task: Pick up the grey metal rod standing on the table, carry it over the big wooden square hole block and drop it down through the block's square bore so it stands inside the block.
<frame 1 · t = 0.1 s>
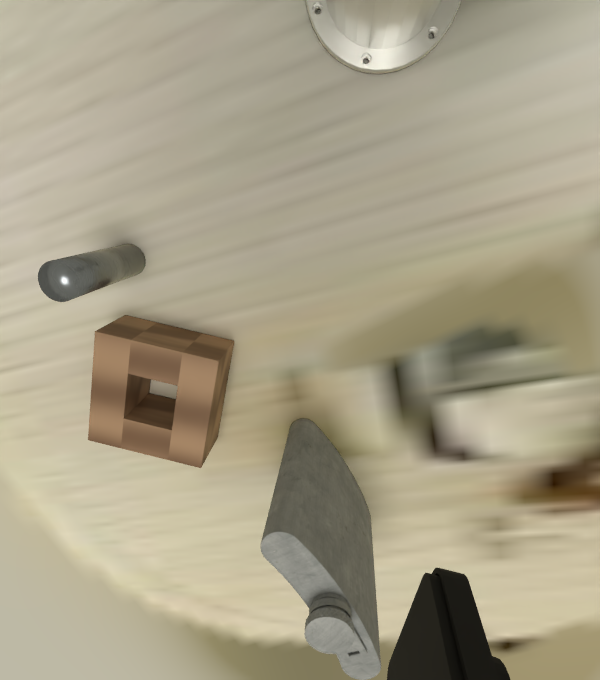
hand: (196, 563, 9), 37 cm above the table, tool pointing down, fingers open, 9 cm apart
wooden square hole block: (173, 378, 49), on the table
grey metal rod: (130, 259, 46), on the table
hip flask: (334, 472, 51), on the table
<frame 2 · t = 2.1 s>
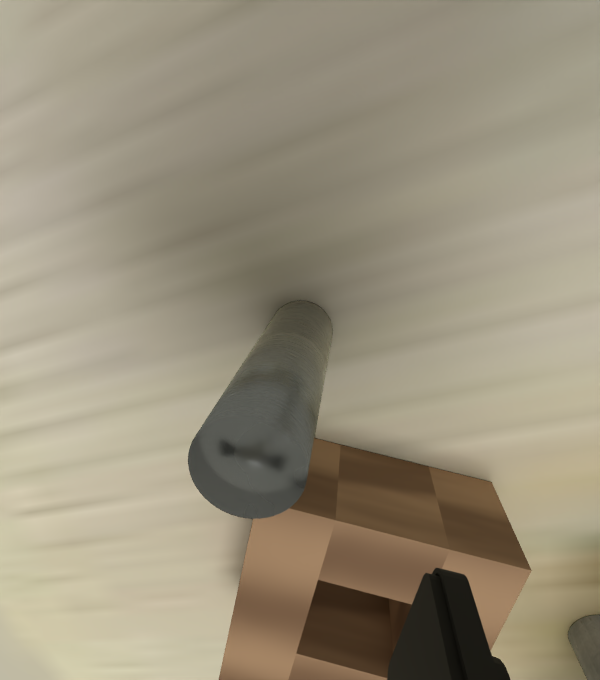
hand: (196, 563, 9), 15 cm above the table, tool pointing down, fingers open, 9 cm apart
wooden square hole block: (357, 538, 27), on the table
grey metal rod: (301, 330, 23), on the table
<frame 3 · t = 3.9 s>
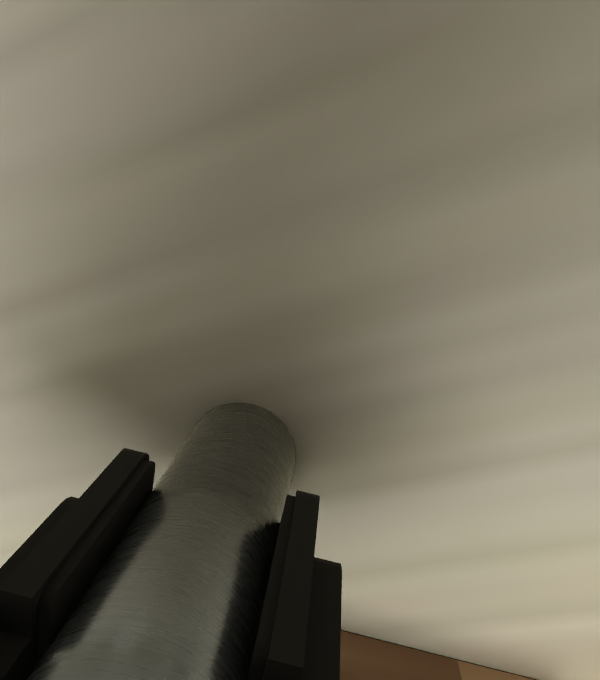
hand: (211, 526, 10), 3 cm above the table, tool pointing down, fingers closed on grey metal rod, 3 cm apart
grey metal rod: (242, 451, 13), on the table, touching gripper
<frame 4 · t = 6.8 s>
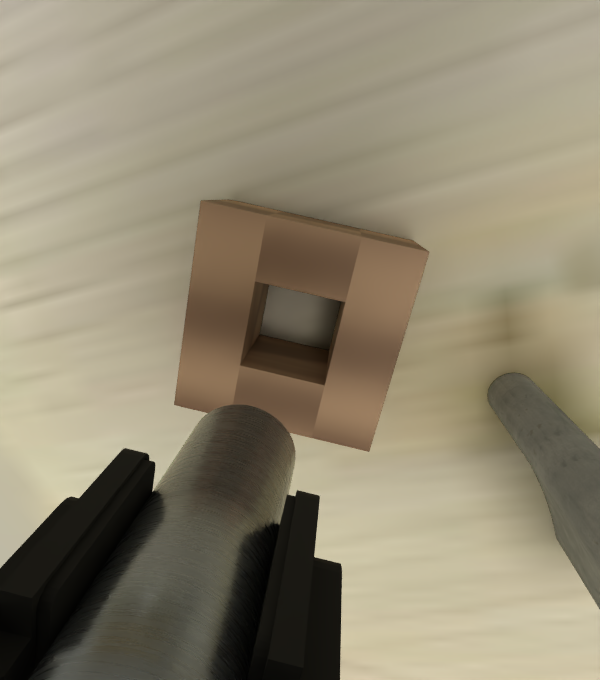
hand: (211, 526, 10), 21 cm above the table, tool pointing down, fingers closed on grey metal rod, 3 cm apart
wooden square hole block: (301, 308, 30), on the table
grey metal rod: (242, 452, 13), point 18 cm above the table, touching gripper
hip flask: (551, 461, 32), on the table
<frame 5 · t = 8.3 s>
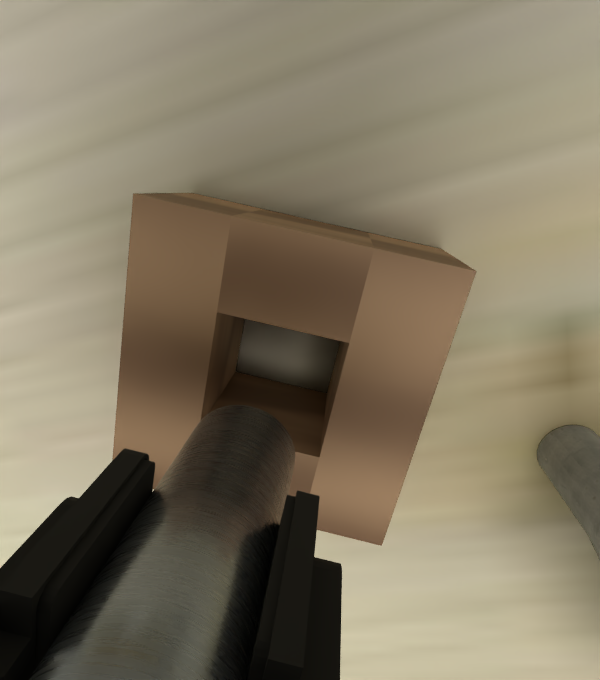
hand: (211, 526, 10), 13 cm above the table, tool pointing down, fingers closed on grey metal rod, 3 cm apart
wooden square hole block: (290, 339, 23), on the table
grey metal rod: (242, 453, 13), point 10 cm above the table, touching gripper
when the fingers open (8 cm above the table, at t = 9.6 s): grey metal rod drops 4 cm, resting in wooden square hole block.
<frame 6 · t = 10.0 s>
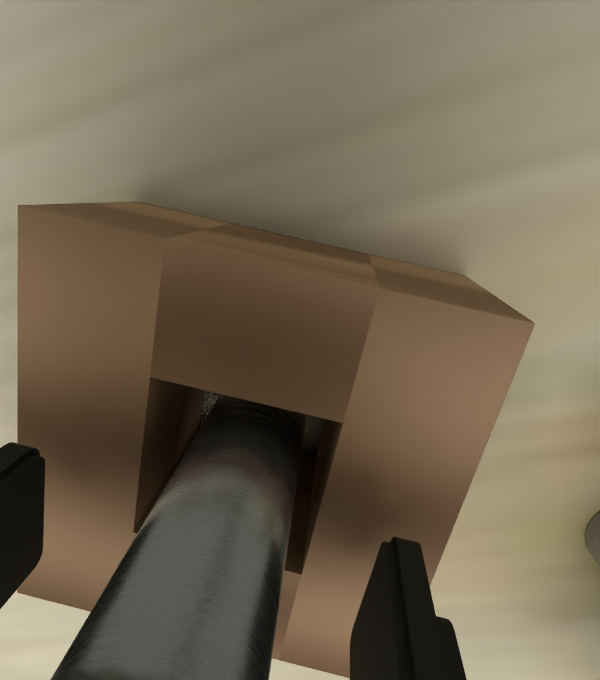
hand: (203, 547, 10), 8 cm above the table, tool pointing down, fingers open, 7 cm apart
wooden square hole block: (268, 389, 18), on the table
grey metal rod: (269, 390, 18), resting in wooden square hole block
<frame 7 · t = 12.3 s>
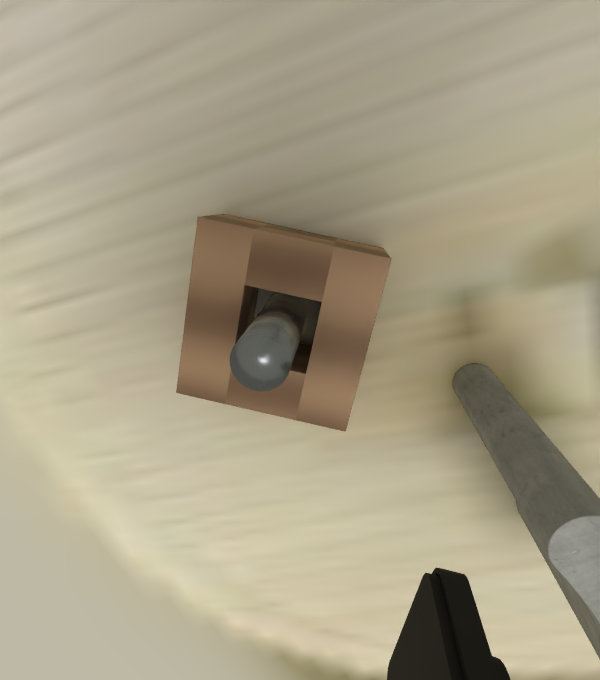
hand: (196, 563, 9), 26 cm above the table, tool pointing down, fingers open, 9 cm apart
wooden square hole block: (287, 308, 35), on the table
grey metal rod: (288, 309, 35), resting in wooden square hole block
hip flask: (510, 442, 36), on the table
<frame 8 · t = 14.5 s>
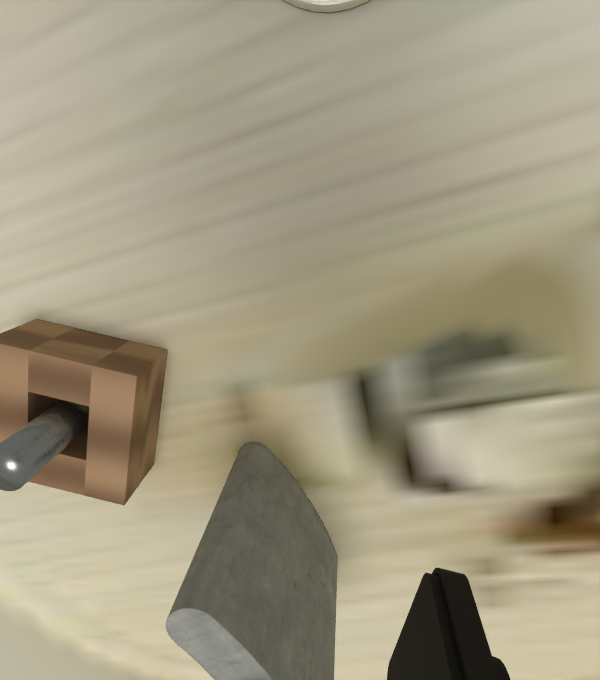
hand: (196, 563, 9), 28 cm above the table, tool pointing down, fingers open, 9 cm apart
wooden square hole block: (97, 394, 41), on the table
grey metal rod: (98, 394, 41), resting in wooden square hole block
hip flask: (293, 505, 43), on the table
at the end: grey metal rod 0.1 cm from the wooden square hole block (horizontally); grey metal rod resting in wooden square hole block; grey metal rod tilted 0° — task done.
